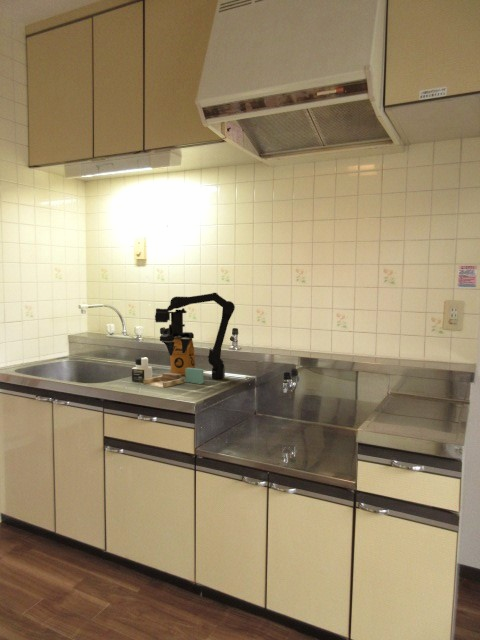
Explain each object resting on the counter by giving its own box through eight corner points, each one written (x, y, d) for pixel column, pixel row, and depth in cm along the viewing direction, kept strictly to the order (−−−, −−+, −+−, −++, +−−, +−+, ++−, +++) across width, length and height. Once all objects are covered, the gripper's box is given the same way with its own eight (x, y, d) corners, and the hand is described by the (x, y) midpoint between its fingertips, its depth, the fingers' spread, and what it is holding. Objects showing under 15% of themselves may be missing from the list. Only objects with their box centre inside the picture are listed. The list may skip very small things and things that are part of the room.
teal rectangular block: (188, 381, 222) (188, 367, 221) (203, 384, 217) (203, 369, 216) (185, 382, 220) (185, 368, 219) (200, 385, 215) (200, 370, 214)
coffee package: (188, 378, 232) (188, 334, 231) (167, 376, 237) (167, 333, 236) (198, 374, 242) (198, 332, 240) (177, 373, 247) (177, 332, 245)
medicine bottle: (131, 382, 222) (131, 358, 221) (140, 380, 229) (139, 355, 228) (144, 384, 219) (143, 358, 218) (152, 381, 226) (152, 356, 225)
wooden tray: (164, 381, 226) (164, 375, 226) (184, 384, 219) (184, 377, 218) (144, 386, 215) (144, 379, 215) (164, 389, 207) (164, 382, 207)
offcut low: (166, 379, 224) (166, 376, 224) (180, 381, 219) (180, 378, 219) (161, 381, 221) (161, 377, 221) (175, 383, 216) (175, 379, 216)
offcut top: (167, 376, 224) (167, 372, 223) (181, 378, 219) (180, 374, 219) (162, 377, 221) (162, 373, 220) (176, 379, 216) (176, 375, 216)
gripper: (177, 320, 237) (177, 350, 238) (151, 322, 222) (151, 355, 223) (194, 321, 231) (194, 352, 232) (168, 324, 216) (168, 357, 217)
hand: (177, 354), depth 226 cm, fingers open, 9 cm apart
